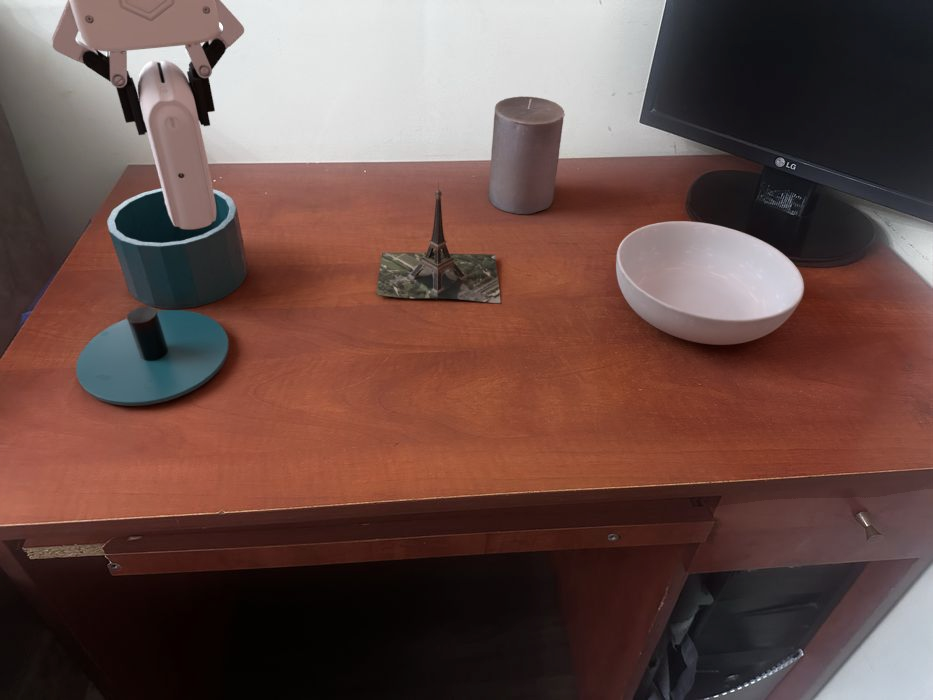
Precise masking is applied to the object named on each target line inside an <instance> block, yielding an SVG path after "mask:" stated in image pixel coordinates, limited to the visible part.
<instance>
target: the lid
mask: <svg viewBox="0 0 933 700" xmlns="http://www.w3.org/2000/svg"><path fill="white" fill-rule="evenodd" d="M229 349H230V343H229V338H228V334H227V333H226V331H225V329H224V328H223V326H222V325H221V324H220V323H219V322H217V321H216V320H215V319H214V318H211V317H210V316H207V315H205V314H203V313H199V312H195V311H190V310H183V309H182V310H181V309H165V310H164V309H163V310H157V309H156V308H155V307H152V306H147V305H145V306H138V307H136V308H134V309H132V310H130V311H129V312H128V313H127V315H126V318H125V319H122V320H120V321H117V322H116V323H114V324H111V325H110V326H108V327H106V328H105V329H104V330H101V331H100V332H99V333H98V334H97V335H95V336H94V337H93V338H92V339H90V340H89V341H88V342H87V344H85V346H84V347H83V349H82V350H81V352H80V353H79V355H78V358H77V360H76V365H75V366H76V367H75V372H76V377H77V381H78V383H79V385H80V386H81V387H82V389H83V390H84V391H85V392H86V393H88V395H90V396H91V397H93V398H94V399H96V400H99V401H102V402H104V403H107V404H112V405H117V406H125V407H129V406H131V407H132V406H133V407H138V406H149V405H155V404H160V403H164V402H169V401H171V400H174V399H177V398H180V397H182V396H185V395H187V394H189V393H191V392H193V391H195V390H197V389H199V388H200V387H202V386H203V385H204V384H206V383H207V382H208V381H210V380H211V379H212V378H213V377H214V376H215V375H217V374H218V372H219V371H220V370H221V368H222V367H223V366H224V364H225V363H226V360H227V358H228V355H229Z"/></svg>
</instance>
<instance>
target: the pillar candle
mask: <svg viewBox="0 0 933 700" xmlns="http://www.w3.org/2000/svg"><path fill="white" fill-rule="evenodd" d="M565 115H566V114H565V110H564V109H563V107H562V106H561V105H560V104H558V103H557V102H555V101H552V100H549V99H546V98H542V97H535V96H513V97H507V98H504V99H501V100H500V101H498V102H497V103H496V104H495V106H494V114H493V126H492V127H493V128H492V140H491V141H492V142H491V153H490V154H491V155H490V156H491V158H490V168H489V182H488V183H489V185H488V201H489V202H490V204H491V205H493V206H494V207H495V208H497V209H499V210H501V211H504V212H507V213H509V214H516V215H531V214H536V213H538V212H541V211H545V210H547V209H549V208H550V207H552V204H553V202H554V196H555V186H556V178H557V173H558V166H559V159H560V158H559V157H560V148H561V141H562V133H563V126H564V118H565Z"/></svg>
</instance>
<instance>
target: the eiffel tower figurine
mask: <svg viewBox="0 0 933 700" xmlns="http://www.w3.org/2000/svg"><path fill="white" fill-rule="evenodd" d="M434 196H435V207H434V216H433V217H434V218H433V226H432V235H431V239H430V240H429V245H428V247H427V250H426V252H382V253H381V258H380V263H379V264H380V265H379V271H378V279H377V287H376V288H377V289H376V293H375V295H376V296H382V297H383V296H384V297H392V298H401V299H402V298H403V299H435V300H439V299H447V300H448V299H450V300H462V301H463V300H464V301H473V302H483V303H489V304H491V303H492V304H502V301H501V292H500V291H501V290H500V282H499V275H498V268H497V258H496V254H491V253H490V254H489V253H488V254H487V253H452V252H451V253H450V252H449V249H448V246H447V240H446V239H445V234H444V233H445V232H444V225H443V212H442V210H443V209H442V196H443V194H442V191H441V190H440V182H437V190H436V191H435V193H434Z"/></svg>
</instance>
